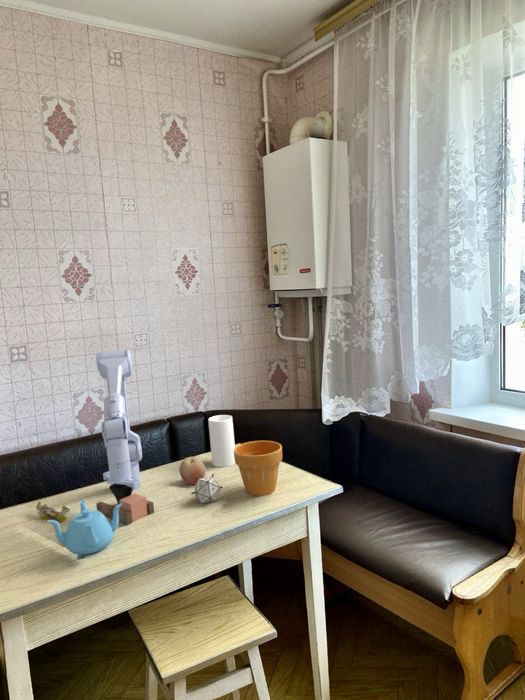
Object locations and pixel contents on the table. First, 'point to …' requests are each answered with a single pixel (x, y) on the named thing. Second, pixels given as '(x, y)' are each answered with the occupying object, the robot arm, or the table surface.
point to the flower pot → (259, 465)
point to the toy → (52, 512)
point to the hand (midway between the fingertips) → (124, 508)
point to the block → (135, 506)
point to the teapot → (87, 531)
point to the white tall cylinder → (222, 440)
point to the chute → (121, 511)
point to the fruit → (192, 470)
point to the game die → (206, 489)
